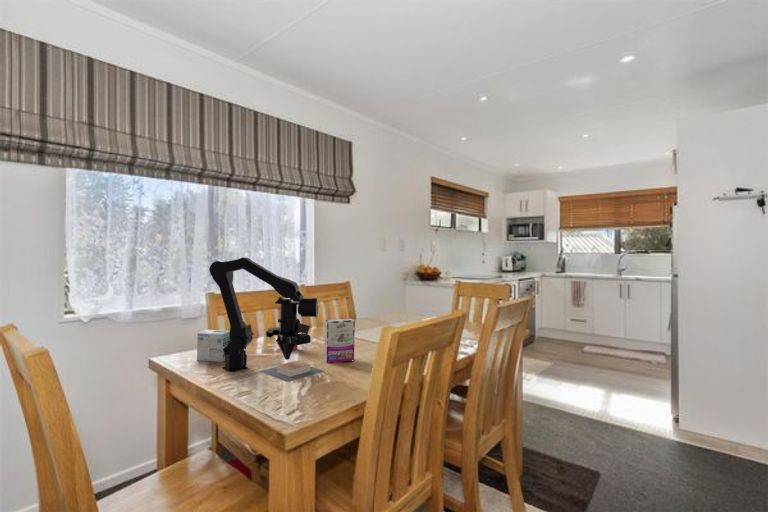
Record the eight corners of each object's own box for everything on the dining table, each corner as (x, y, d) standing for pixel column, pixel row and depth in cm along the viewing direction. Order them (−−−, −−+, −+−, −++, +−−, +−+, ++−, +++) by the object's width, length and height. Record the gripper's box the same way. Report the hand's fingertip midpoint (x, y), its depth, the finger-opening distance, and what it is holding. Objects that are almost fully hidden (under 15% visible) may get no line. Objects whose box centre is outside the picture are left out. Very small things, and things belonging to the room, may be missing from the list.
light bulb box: (231, 357, 150) (232, 330, 150) (222, 362, 144) (223, 334, 144) (205, 356, 151) (206, 329, 151) (195, 360, 145) (196, 332, 145)
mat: (287, 383, 124) (287, 382, 124) (259, 372, 134) (259, 371, 134) (324, 371, 136) (324, 371, 136) (296, 362, 146) (296, 361, 146)
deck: (277, 372, 133) (289, 376, 129) (277, 365, 133) (289, 369, 129) (297, 366, 140) (310, 370, 136) (297, 360, 140) (310, 364, 136)
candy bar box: (350, 358, 154) (351, 318, 154) (354, 361, 150) (355, 320, 150) (323, 360, 150) (324, 319, 150) (326, 364, 146) (327, 321, 145)
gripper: (323, 317, 137) (321, 360, 137) (290, 310, 149) (289, 350, 149) (298, 320, 128) (296, 367, 128) (265, 313, 140) (264, 356, 140)
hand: (287, 359), depth 137 cm, fingers closed
